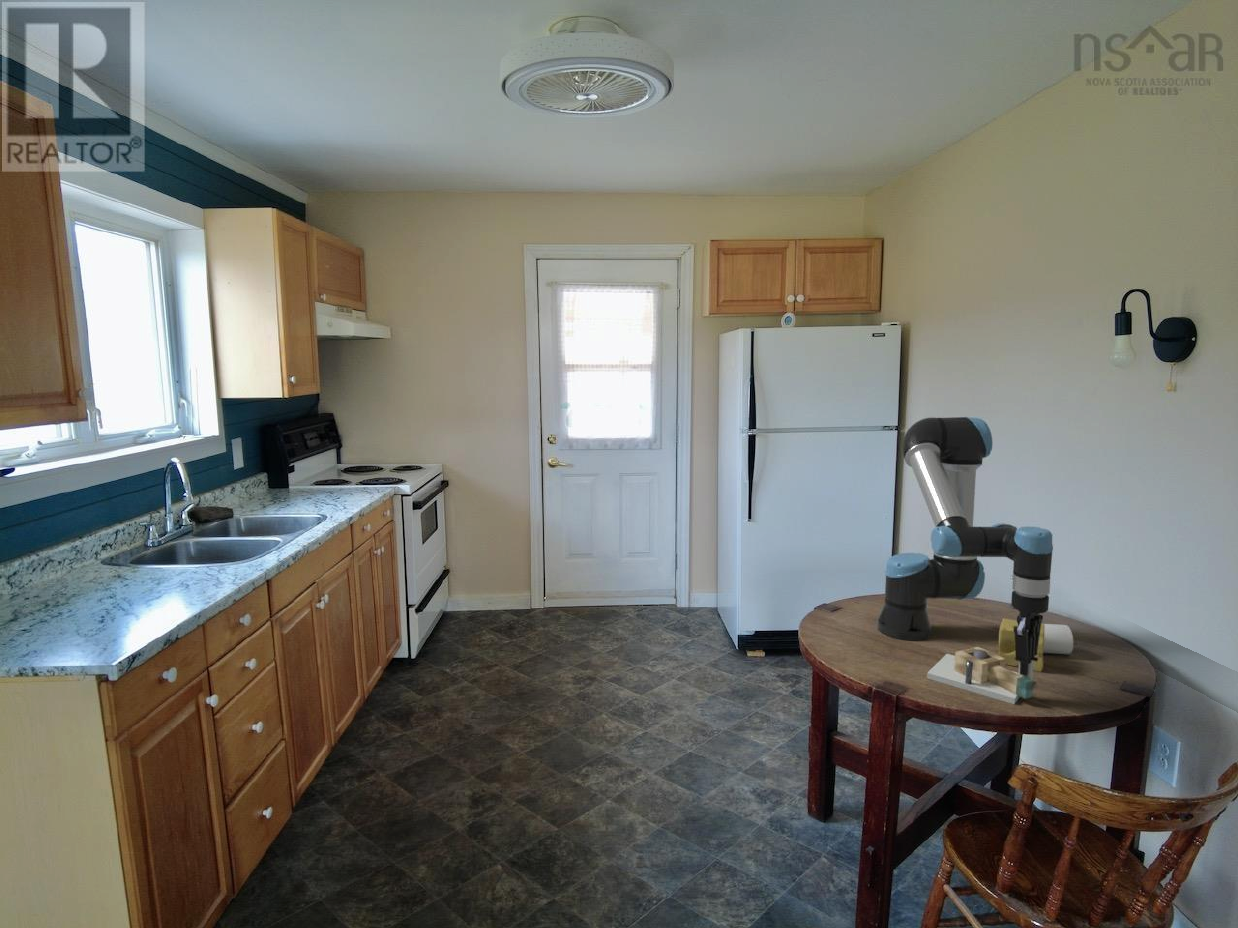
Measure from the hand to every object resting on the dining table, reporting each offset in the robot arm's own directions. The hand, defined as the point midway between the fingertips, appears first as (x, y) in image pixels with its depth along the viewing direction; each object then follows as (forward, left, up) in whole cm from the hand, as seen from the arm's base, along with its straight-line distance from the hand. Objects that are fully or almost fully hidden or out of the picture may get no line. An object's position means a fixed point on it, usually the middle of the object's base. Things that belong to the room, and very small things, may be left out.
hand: (1024, 685), depth 162 cm
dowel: (-11, -4, -1) cm, 12 cm away
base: (-11, +2, -3) cm, 11 cm away
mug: (-3, +35, -3) cm, 35 cm away
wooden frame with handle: (-6, 0, -1) cm, 7 cm away
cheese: (-6, +22, -3) cm, 23 cm away
